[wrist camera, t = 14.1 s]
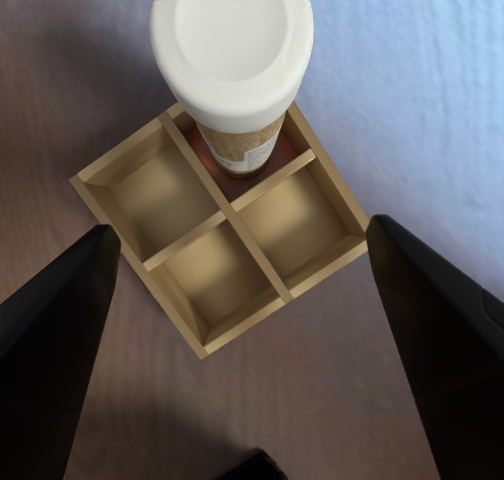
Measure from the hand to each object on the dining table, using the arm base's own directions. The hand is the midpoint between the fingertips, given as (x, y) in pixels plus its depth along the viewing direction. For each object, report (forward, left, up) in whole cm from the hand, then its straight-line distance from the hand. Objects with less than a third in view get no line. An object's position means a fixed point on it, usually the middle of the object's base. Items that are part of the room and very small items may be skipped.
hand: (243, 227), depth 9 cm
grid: (-1, +1, -12) cm, 12 cm away
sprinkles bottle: (+3, +5, -12) cm, 13 cm away
